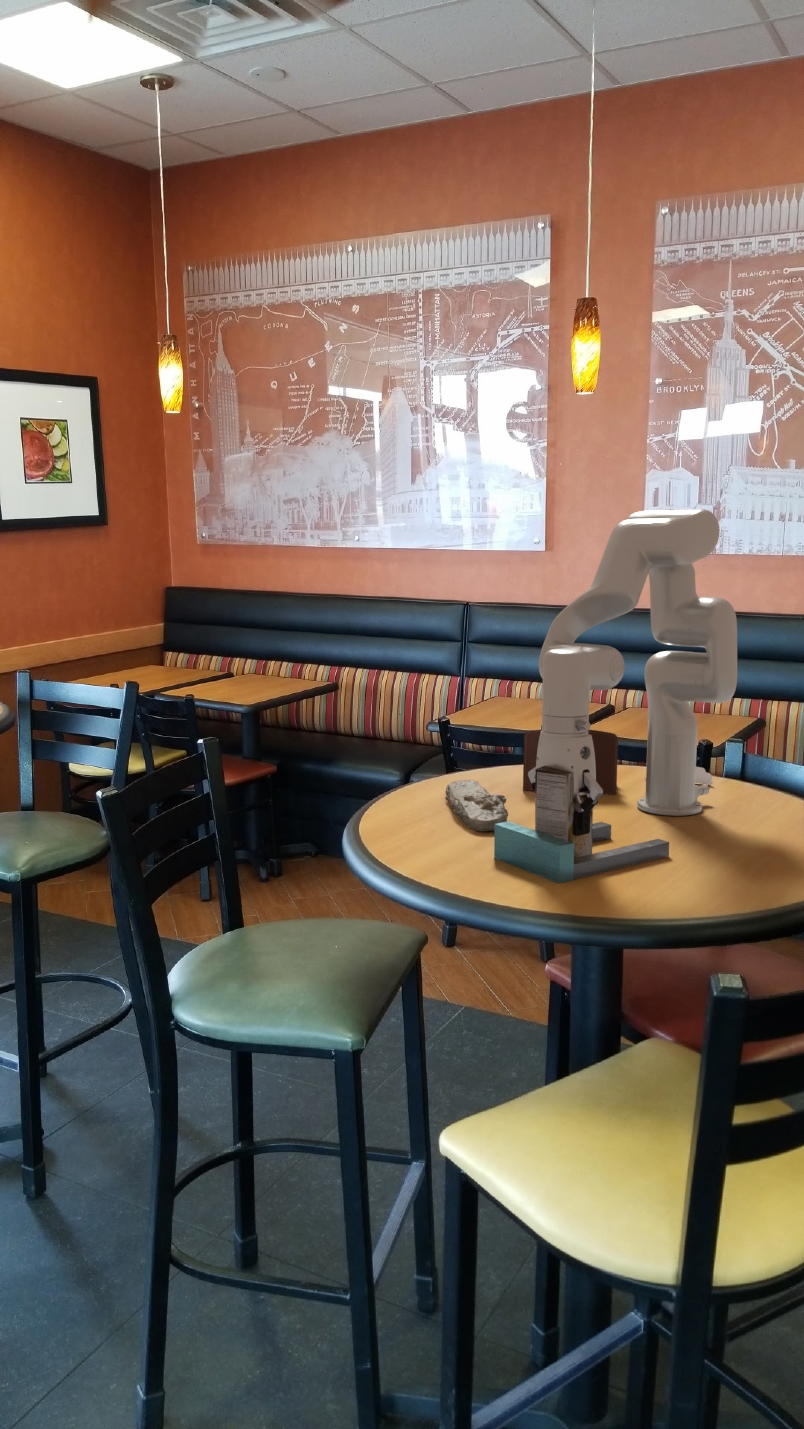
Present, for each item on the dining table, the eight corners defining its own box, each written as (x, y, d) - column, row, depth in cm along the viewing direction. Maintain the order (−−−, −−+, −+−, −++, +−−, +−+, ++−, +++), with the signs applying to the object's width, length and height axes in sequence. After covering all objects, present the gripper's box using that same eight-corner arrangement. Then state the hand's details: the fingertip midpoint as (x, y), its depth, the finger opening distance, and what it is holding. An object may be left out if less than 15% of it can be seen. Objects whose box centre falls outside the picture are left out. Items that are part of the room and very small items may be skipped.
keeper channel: (600, 835, 189) (601, 803, 188) (668, 856, 176) (670, 822, 175) (494, 858, 175) (494, 823, 174) (559, 883, 162) (559, 846, 161)
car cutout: (716, 785, 230) (717, 765, 229) (708, 791, 224) (709, 771, 223) (650, 778, 237) (651, 759, 236) (641, 783, 232) (642, 764, 231)
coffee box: (559, 849, 178) (560, 758, 176) (593, 855, 175) (595, 762, 172) (533, 863, 171) (534, 768, 168) (568, 869, 167) (570, 772, 165)
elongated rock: (483, 797, 225) (438, 800, 224) (482, 773, 224) (436, 776, 223) (518, 831, 190) (465, 836, 189) (516, 803, 190) (463, 808, 189)
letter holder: (616, 795, 219) (618, 730, 217) (522, 792, 223) (523, 727, 220) (615, 785, 229) (617, 722, 227) (525, 782, 232) (526, 720, 230)
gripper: (620, 729, 164) (617, 836, 167) (546, 715, 178) (544, 814, 181) (586, 735, 160) (583, 844, 163) (512, 719, 174) (511, 820, 177)
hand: (563, 828), depth 172 cm, fingers open, 8 cm apart
